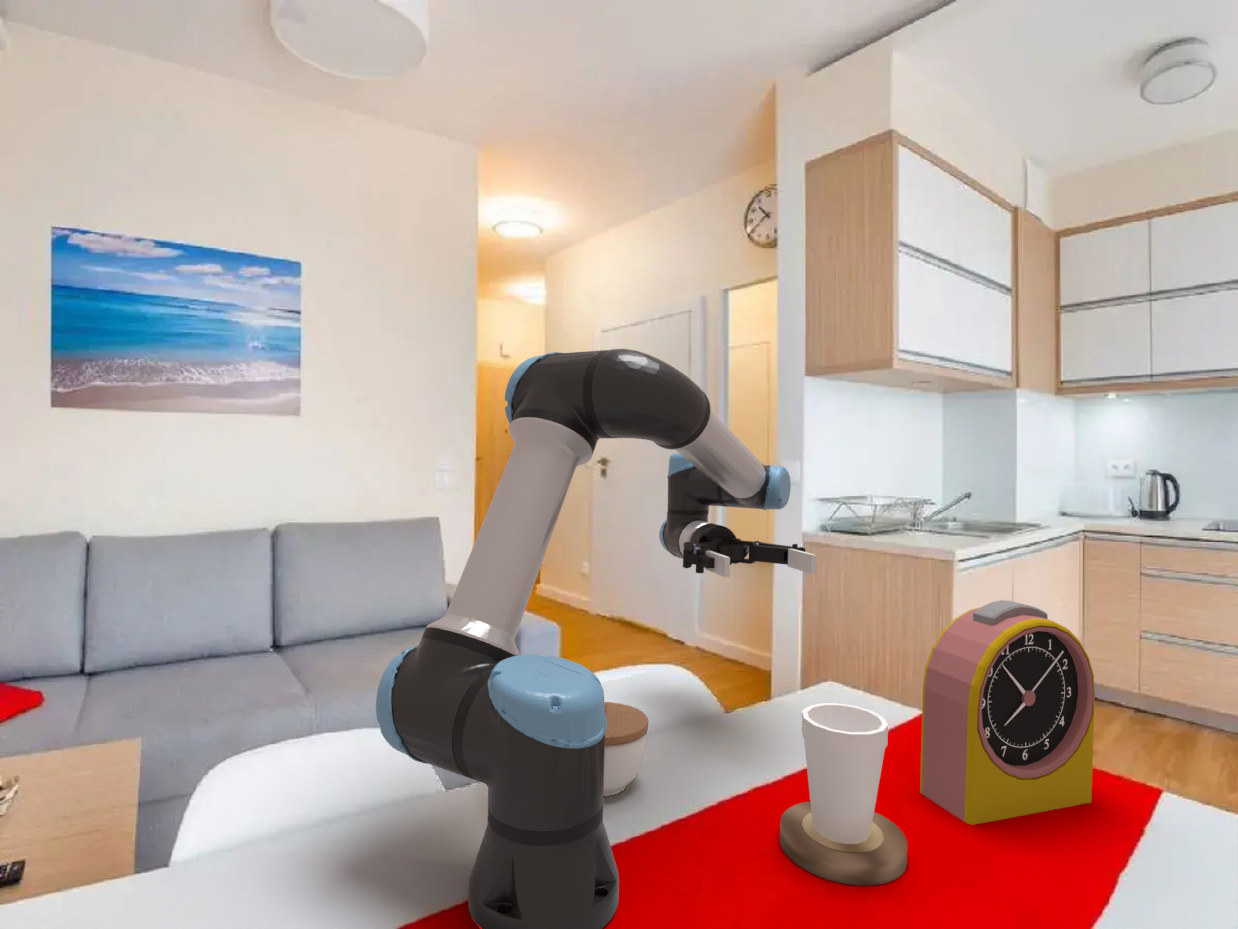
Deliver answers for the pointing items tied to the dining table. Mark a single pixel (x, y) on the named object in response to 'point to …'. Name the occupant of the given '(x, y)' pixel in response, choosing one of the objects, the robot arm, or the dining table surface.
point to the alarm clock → (1007, 715)
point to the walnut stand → (844, 850)
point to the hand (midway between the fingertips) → (771, 565)
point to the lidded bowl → (623, 746)
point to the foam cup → (843, 768)
